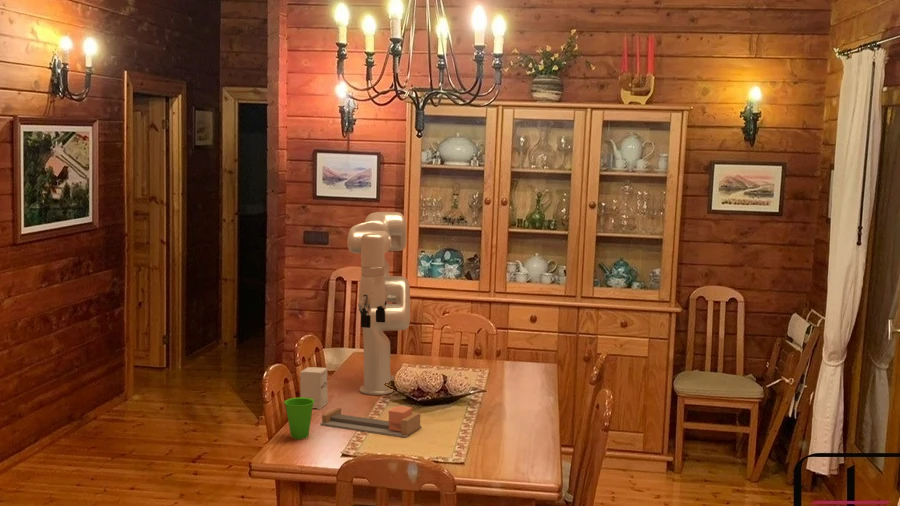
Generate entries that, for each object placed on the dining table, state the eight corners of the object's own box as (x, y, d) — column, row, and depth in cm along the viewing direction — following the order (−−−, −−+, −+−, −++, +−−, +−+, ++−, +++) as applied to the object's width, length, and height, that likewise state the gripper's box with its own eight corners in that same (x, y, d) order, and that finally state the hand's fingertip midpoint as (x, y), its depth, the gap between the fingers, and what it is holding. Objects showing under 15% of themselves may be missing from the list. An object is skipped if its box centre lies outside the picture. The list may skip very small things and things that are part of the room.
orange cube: (398, 424, 285) (398, 405, 285) (412, 426, 283) (412, 407, 283) (388, 429, 280) (388, 410, 279) (403, 431, 278) (403, 412, 277)
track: (338, 415, 297) (338, 401, 296) (421, 427, 285) (421, 412, 284) (320, 425, 287) (320, 409, 286) (405, 437, 275) (405, 421, 274)
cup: (303, 430, 282) (302, 395, 280) (320, 437, 275) (320, 401, 274) (278, 436, 275) (278, 401, 274) (296, 443, 269) (295, 407, 268)
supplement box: (320, 409, 304) (320, 372, 302) (299, 408, 305) (299, 371, 304) (328, 403, 311) (327, 367, 310) (307, 402, 313) (307, 366, 311)
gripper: (375, 268, 301) (375, 319, 303) (349, 274, 285) (349, 328, 287) (395, 269, 298) (396, 321, 300) (370, 276, 282) (370, 330, 284)
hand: (373, 324), depth 293 cm, fingers open, 9 cm apart
